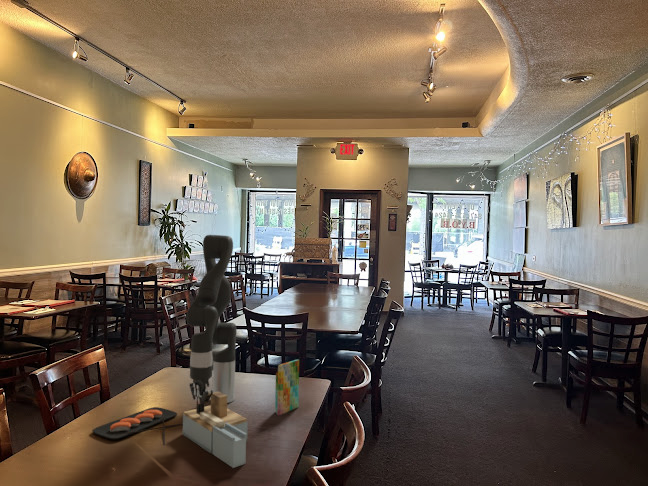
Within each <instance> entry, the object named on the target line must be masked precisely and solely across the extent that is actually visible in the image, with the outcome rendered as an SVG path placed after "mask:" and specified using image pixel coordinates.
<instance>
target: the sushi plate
mask: <svg viewBox="0 0 648 486" xmlns="http://www.w3.org/2000/svg"><path fill="white" fill-rule="evenodd" d="M177 415H178V413H177V411H173V410H169V409H166V408H163V407H157V406H156V407H155V406H154V407H150V408H146V409H144V410H142V411H141V410H140V411H138V412H136V413H133V414H129V415H127V416H124V417H121V418H119V419H115V420H114V421H111V422H108V423H105V424H101V425H100V426H97V427H95V428H93V429H92V432H93V434H94V435H98V436H100V437H103V438H106V439H110V440H119V439H123V438H125V437H127V436H130V435H133V434H136V433H139V432H147V431H154V430H160V429H162V443H163V445H162V446H165V445H166V436H165V435H166V434H165V429H166V428H174V427H178V426H183V422H182V423H176V424H171V425H165V421H167V420H170V419H172V418H174V417H176V416H177ZM159 423H162V426H159V427H154V428H151V427H153V426H154V425H155V426H156V425H158V424H159ZM147 428H148V429H147Z"/></svg>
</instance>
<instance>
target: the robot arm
mask: <svg viewBox="0 0 648 486" xmlns="http://www.w3.org/2000/svg"><path fill="white" fill-rule="evenodd" d="M202 251H203V258H204V259H203V260H204V264H205V270H206V273H205V274H204V276H203V277H202V279H201V281H200V284H199V287H198V291H197V294H196V296H195V298H194V299H193V301H192V303H191V305H190V306H189V307H188V309H187V312H186V315H185V316H186V317H185V320H186V322H187V324H188V326H191V327H205V331H202V332H201V331H200V332H196V333H194V334H192V336H191V343H190V344H191V345H190V347H191V348H190V356H189V357H190V359H189V361H190V362H189V378H190V379H191V380H192V383H191V382H190V383H189V390H190V392H191V396H192V399H193V400H195V404H196V409H197V410H196V413H197V414H199V415H200V412H203V411H204V407H205V403H206V404H207V403H209V402H210V400H211V395H212V394H213V393H214V392H218V391H219V392H221V393H223V394H225V395H227V404H228V403H231V402H234V401H235V391H236V390H235V387H236V386H235V385H236V383H235V382H236V379H235V378H236V345H237V343H236V342H237V325H236V324H235V323H234V322H219V319H220V318H221V315H222V314H223V313H224V311H225V310H226V308H227V307H228V305H230V302H231V299H232V294H231V292H232V291H231V283H230V281H229V279H228V278H227V277H226V275H225V272H226V271H227V268H228V265H229V263H230V260H231V258H232V255H233V251H234V241H233V238H232V237H231V236H229V235H223V234H222V235H218V234H207V235H205V236H204V238H203V240H202ZM216 259H217V260H218V261H216ZM213 345H224V346H225V345H227V347H226V348H224V349H222V350H219V351H217V352H214V354H213ZM210 379H212V381H211V383H212V385H211V387H212V388H211V389H210V381H209V380H210Z"/></svg>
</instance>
